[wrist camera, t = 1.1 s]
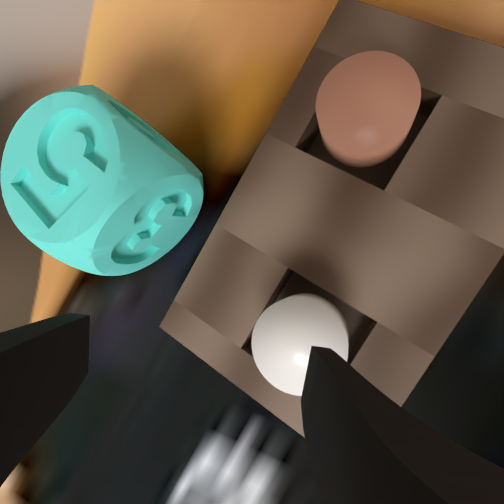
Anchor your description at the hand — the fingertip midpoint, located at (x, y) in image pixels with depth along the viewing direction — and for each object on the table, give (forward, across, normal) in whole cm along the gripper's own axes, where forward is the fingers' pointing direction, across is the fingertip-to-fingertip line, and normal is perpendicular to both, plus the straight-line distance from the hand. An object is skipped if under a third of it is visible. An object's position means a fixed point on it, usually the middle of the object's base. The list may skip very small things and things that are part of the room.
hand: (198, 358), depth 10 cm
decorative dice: (+15, +6, -3) cm, 16 cm away
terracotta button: (+9, -6, -9) cm, 14 cm away
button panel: (+10, -7, -3) cm, 13 cm away
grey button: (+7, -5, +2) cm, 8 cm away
